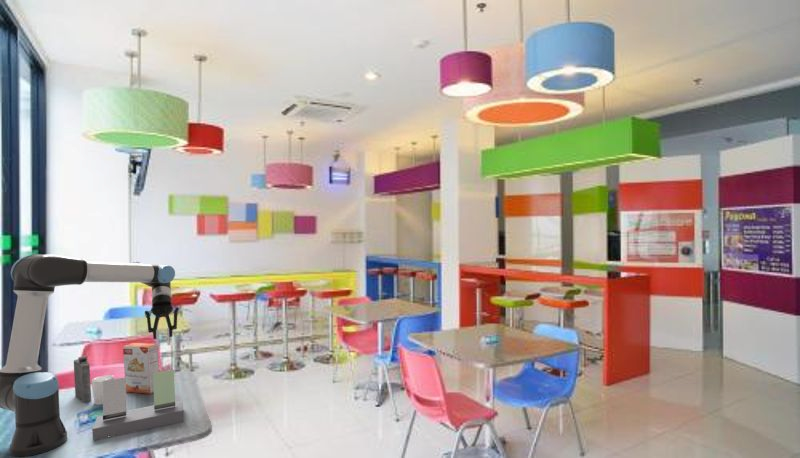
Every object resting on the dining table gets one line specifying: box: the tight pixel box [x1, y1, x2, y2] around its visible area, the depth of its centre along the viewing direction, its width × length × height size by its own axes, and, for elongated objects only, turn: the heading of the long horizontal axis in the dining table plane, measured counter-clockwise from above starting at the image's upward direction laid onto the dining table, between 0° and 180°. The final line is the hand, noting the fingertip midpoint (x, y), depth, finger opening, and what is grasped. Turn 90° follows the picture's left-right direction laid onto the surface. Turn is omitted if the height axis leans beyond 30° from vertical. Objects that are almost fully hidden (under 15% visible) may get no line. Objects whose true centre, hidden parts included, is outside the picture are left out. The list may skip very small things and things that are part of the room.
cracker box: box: [122, 342, 160, 395], centre depth 200 cm, size 14×6×21 cm, turn 73°
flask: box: [73, 355, 92, 404], centre depth 195 cm, size 4×14×18 cm, turn 49°
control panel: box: [91, 399, 185, 441], centre depth 165 cm, size 12×28×4 cm, turn 117°
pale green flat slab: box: [153, 369, 176, 410], centre depth 171 cm, size 2×7×13 cm, turn 116°
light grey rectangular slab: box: [102, 376, 127, 420], centre depth 163 cm, size 2×7×13 cm, turn 116°
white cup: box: [91, 374, 115, 406], centre depth 189 cm, size 8×8×10 cm
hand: (163, 343), depth 185 cm, fingers open, 3 cm apart
